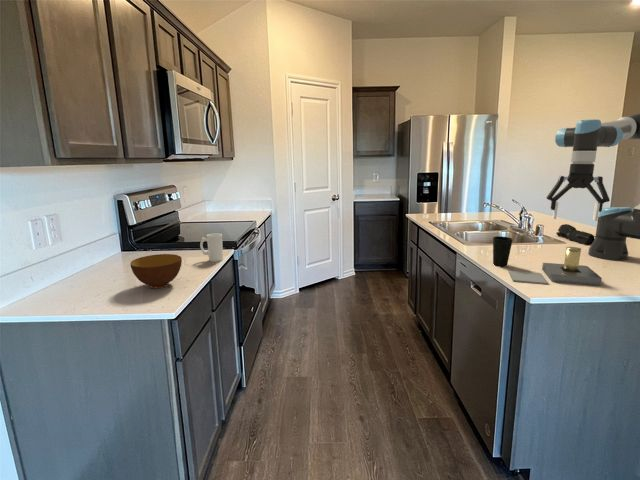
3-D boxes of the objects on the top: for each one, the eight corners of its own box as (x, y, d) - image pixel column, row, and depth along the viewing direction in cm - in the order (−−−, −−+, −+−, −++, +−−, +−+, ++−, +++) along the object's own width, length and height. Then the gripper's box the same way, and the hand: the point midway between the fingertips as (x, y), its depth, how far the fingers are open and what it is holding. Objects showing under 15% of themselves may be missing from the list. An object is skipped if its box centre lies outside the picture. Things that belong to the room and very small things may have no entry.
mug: (224, 257, 184) (222, 233, 181) (222, 261, 177) (221, 236, 174) (202, 258, 182) (200, 233, 180) (200, 262, 176) (198, 236, 173)
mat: (541, 274, 156) (541, 273, 156) (548, 284, 145) (548, 283, 145) (508, 272, 159) (508, 270, 159) (513, 281, 148) (513, 280, 148)
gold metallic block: (574, 275, 154) (578, 247, 152) (578, 279, 150) (582, 250, 147) (560, 274, 156) (564, 246, 153) (564, 278, 151) (568, 249, 149)
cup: (487, 262, 173) (489, 236, 170) (503, 262, 173) (506, 236, 171) (496, 267, 165) (499, 240, 162) (513, 267, 166) (516, 240, 163)
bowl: (122, 290, 141) (119, 264, 139) (158, 276, 157) (155, 252, 155) (160, 296, 135) (157, 269, 133) (193, 281, 151) (191, 256, 149)
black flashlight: (586, 247, 201) (589, 232, 199) (551, 235, 225) (553, 222, 223) (598, 246, 202) (601, 231, 200) (562, 235, 226) (564, 221, 224)
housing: (586, 272, 158) (587, 265, 157) (600, 285, 143) (601, 278, 142) (542, 269, 163) (542, 262, 162) (551, 281, 148) (552, 274, 147)
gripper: (618, 162, 144) (608, 219, 148) (542, 162, 151) (535, 216, 156) (626, 163, 137) (616, 222, 141) (547, 163, 144) (539, 219, 149)
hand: (574, 219), depth 149 cm, fingers open, 13 cm apart
